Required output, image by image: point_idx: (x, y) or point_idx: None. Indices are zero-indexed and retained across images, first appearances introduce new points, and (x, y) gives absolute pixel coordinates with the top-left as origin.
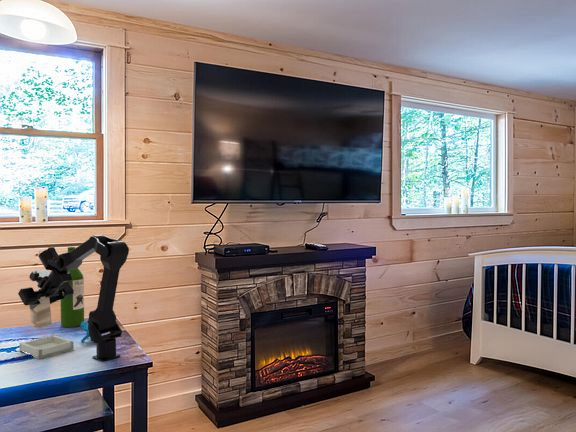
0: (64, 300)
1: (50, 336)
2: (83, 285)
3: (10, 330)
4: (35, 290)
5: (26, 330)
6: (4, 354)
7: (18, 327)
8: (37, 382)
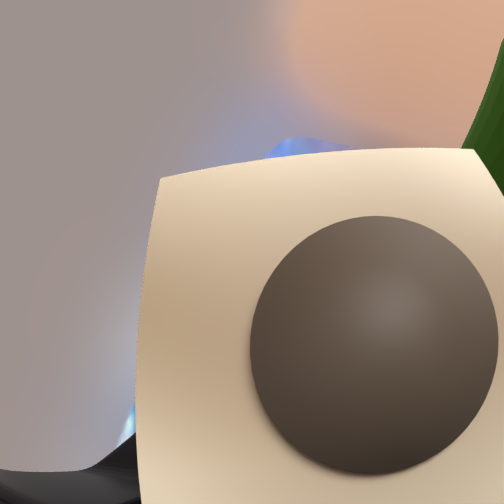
0: (494, 162)
1: None
2: None
3: (270, 152)
4: (336, 186)
5: None
6: (117, 446)
7: (302, 139)
8: None
